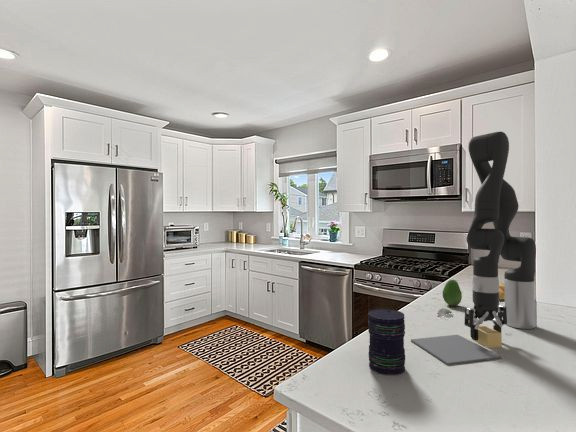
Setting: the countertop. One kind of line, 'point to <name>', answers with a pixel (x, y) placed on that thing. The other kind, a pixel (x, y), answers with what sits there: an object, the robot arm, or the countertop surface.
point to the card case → (489, 337)
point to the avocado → (452, 293)
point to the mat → (455, 349)
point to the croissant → (501, 291)
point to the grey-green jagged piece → (444, 313)
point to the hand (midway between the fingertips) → (486, 338)
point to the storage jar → (386, 341)
